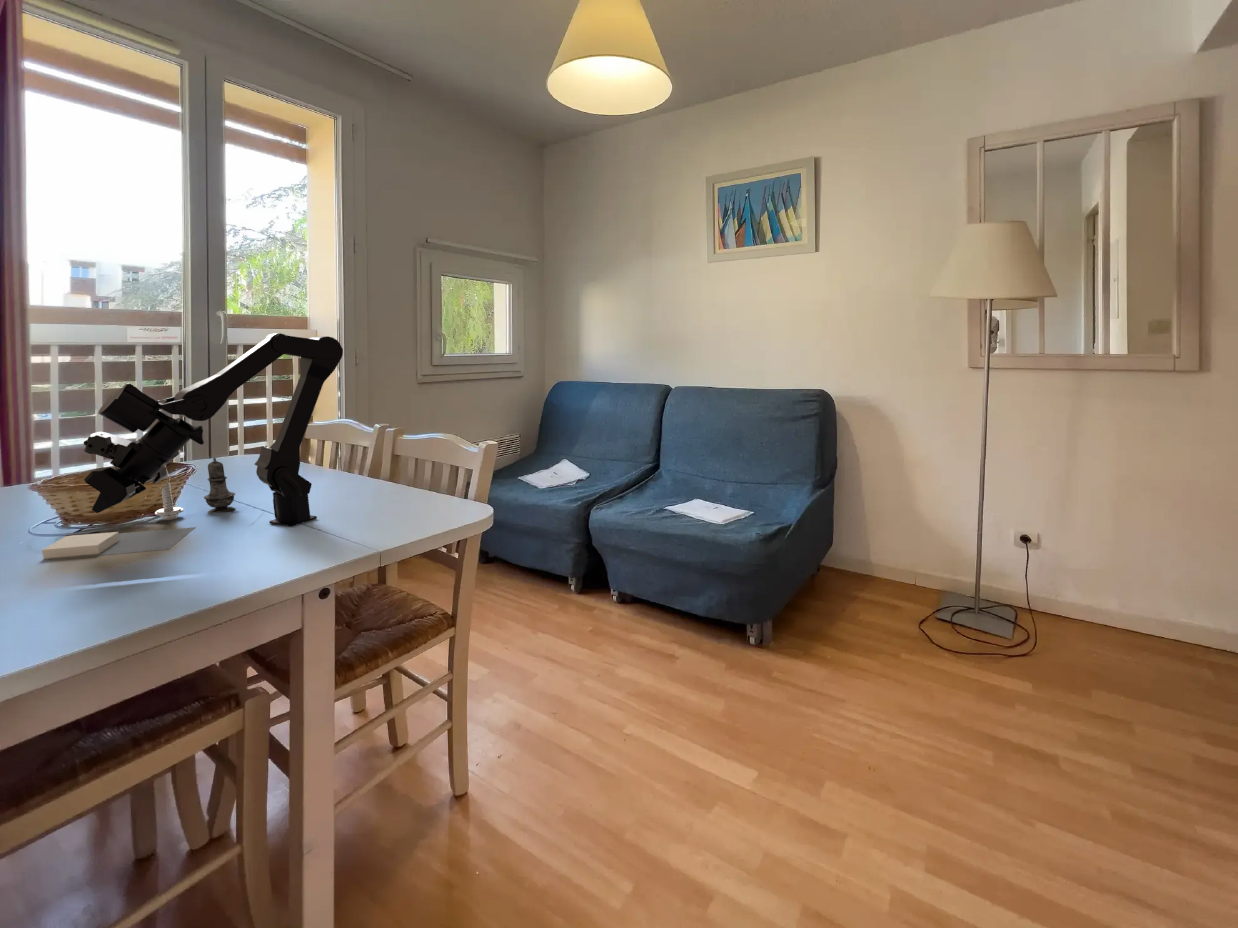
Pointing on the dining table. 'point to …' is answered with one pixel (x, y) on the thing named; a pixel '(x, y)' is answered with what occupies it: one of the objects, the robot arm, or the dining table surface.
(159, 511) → the screw
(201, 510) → the dining table surface
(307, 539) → the dining table surface
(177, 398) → the robot arm
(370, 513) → the dining table surface
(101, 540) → the tile
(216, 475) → the salt shaker
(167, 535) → the mat
